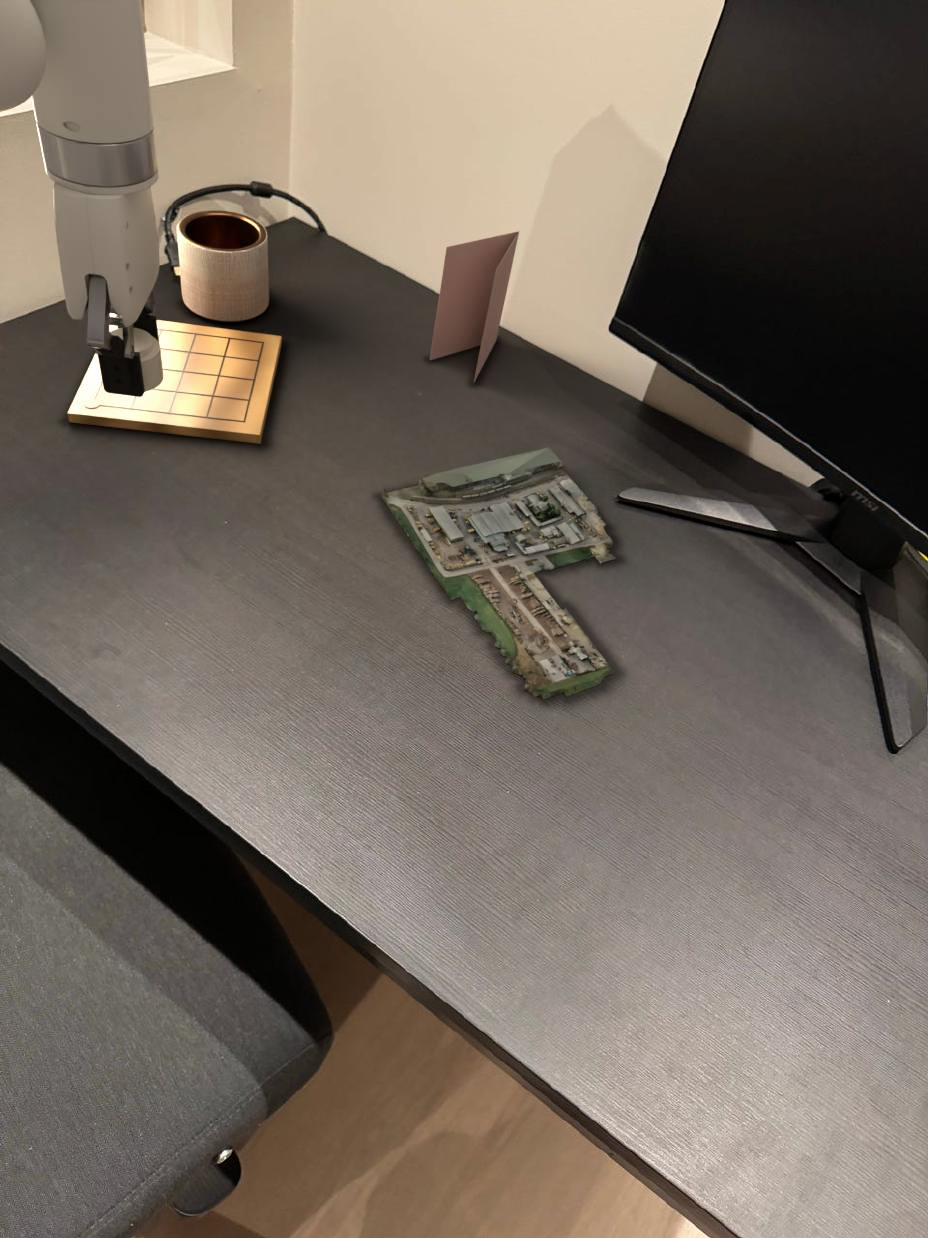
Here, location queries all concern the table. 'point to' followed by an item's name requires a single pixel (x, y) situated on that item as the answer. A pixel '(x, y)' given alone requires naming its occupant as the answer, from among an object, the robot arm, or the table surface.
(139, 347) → the tan tin with lid
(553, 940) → the table surface
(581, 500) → the model
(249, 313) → the planter
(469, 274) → the greeting card
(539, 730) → the table surface
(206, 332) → the board
